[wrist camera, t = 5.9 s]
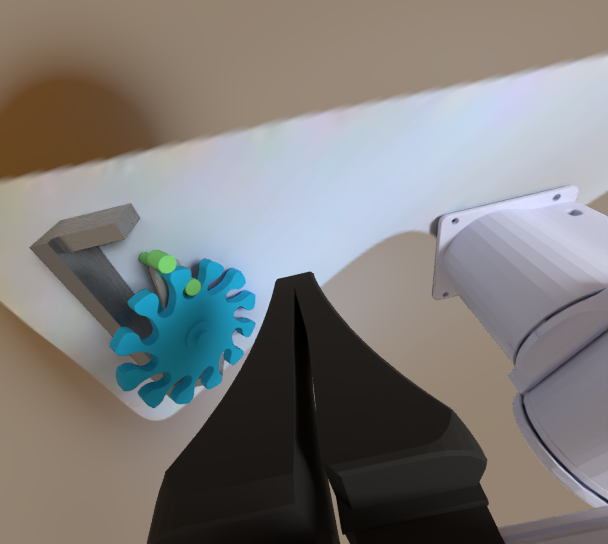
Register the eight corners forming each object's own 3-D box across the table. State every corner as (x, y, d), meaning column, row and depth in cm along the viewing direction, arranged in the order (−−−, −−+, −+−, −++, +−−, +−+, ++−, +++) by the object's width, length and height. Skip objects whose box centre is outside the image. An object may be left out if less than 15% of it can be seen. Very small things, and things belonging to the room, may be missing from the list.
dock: (131, 203, 18) (111, 227, 15) (224, 356, 27) (221, 386, 25) (59, 220, 18) (29, 247, 16) (177, 367, 27) (169, 397, 25)
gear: (269, 349, 25) (155, 446, 18) (225, 324, 28) (116, 397, 22) (248, 225, 20) (76, 299, 13) (196, 211, 23) (39, 264, 16)
